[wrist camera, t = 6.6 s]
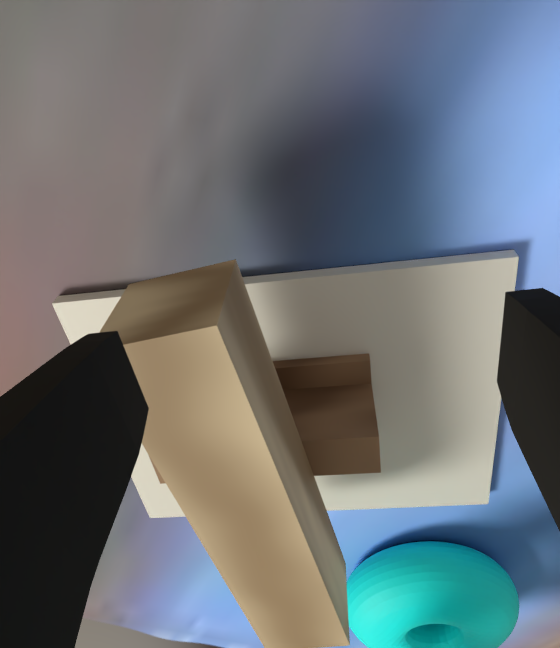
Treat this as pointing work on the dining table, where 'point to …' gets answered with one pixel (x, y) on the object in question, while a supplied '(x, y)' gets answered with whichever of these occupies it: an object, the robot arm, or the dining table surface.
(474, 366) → the board
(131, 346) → the bar
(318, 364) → the block
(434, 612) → the donuts
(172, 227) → the dining table surface
